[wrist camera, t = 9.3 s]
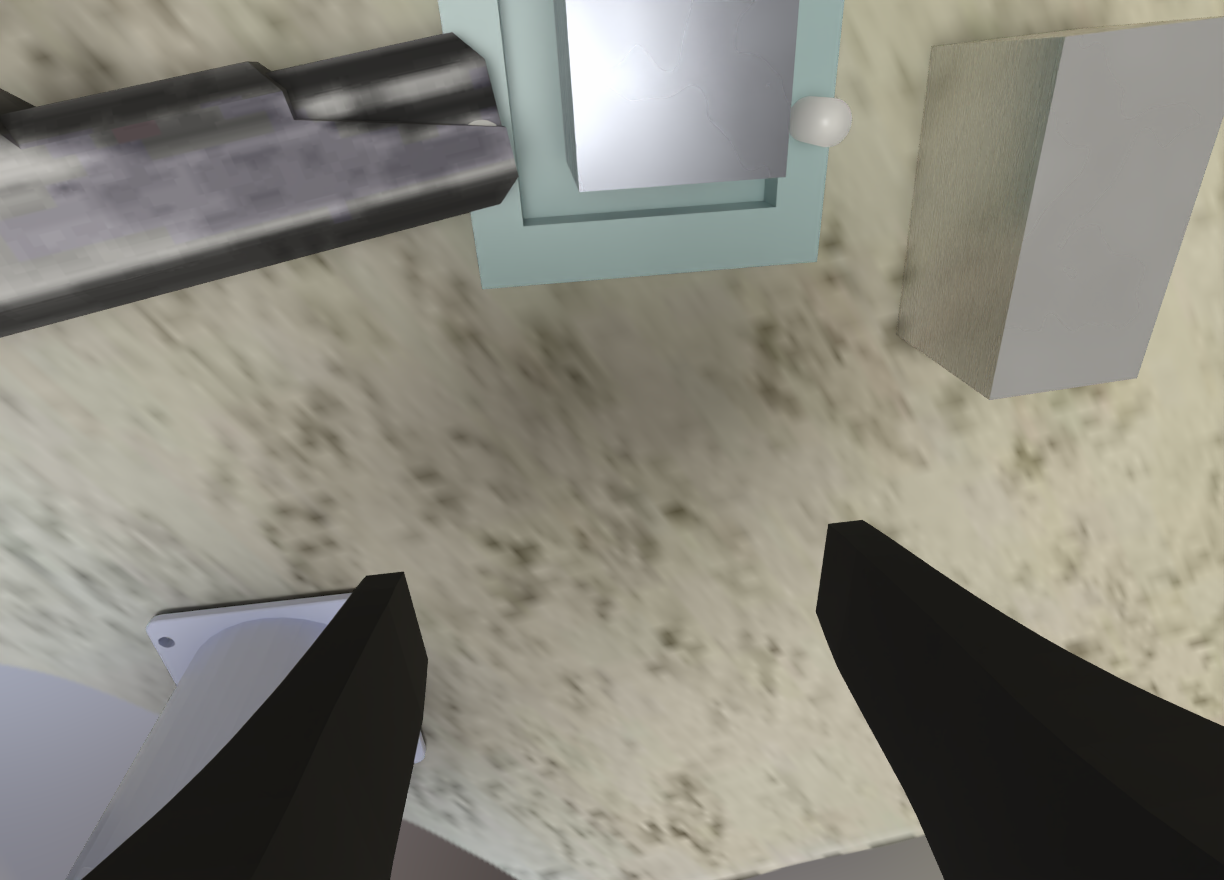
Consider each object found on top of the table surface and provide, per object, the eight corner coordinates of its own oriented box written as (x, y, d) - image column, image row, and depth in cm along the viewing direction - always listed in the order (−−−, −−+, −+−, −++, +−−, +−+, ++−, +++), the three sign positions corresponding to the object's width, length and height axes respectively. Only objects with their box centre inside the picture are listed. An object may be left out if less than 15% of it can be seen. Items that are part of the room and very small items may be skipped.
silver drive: (1012, 316, 21) (1136, 377, 17) (894, 333, 21) (989, 400, 17) (1074, 28, 17) (1257, 13, 13) (928, 46, 17) (1065, 36, 13)
